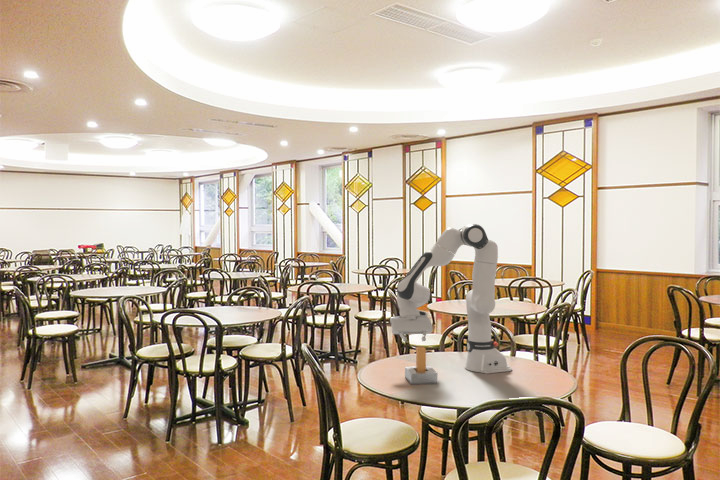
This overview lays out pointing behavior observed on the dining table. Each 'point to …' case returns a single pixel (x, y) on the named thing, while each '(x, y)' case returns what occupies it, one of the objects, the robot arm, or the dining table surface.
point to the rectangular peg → (420, 359)
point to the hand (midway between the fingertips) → (414, 340)
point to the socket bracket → (421, 375)
